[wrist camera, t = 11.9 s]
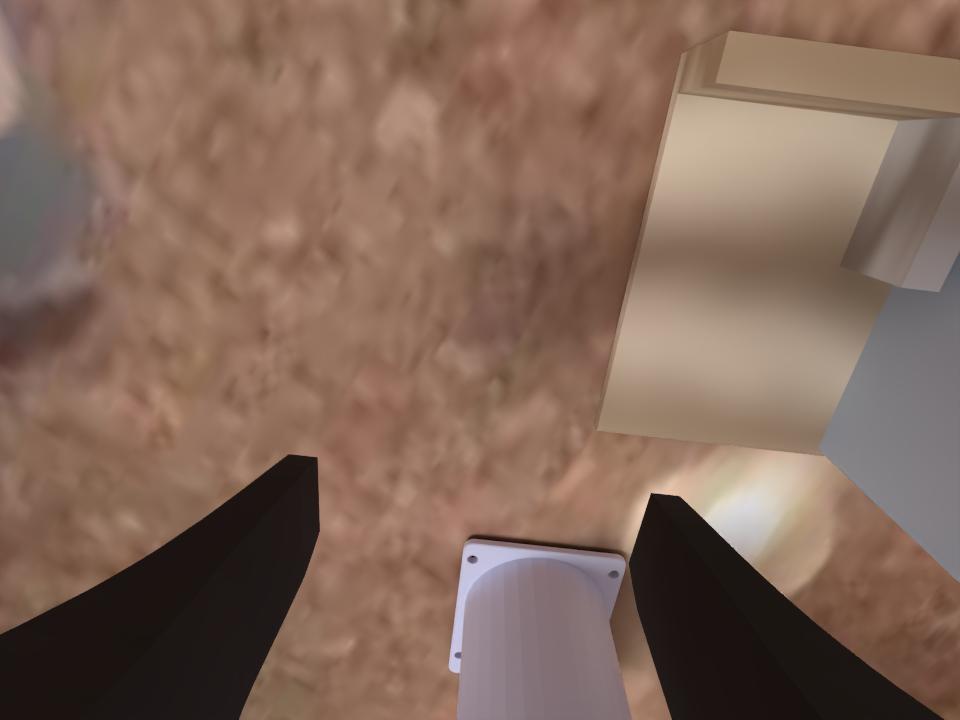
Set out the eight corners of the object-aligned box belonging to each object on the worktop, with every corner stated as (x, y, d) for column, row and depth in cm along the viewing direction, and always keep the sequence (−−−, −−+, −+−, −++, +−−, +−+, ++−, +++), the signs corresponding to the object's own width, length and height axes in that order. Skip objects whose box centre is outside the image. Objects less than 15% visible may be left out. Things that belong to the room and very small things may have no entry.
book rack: (951, 463, 22) (1031, 519, 19) (594, 423, 22) (611, 473, 18) (1159, 113, 16) (1326, 105, 13) (681, 53, 16) (729, 30, 13)
